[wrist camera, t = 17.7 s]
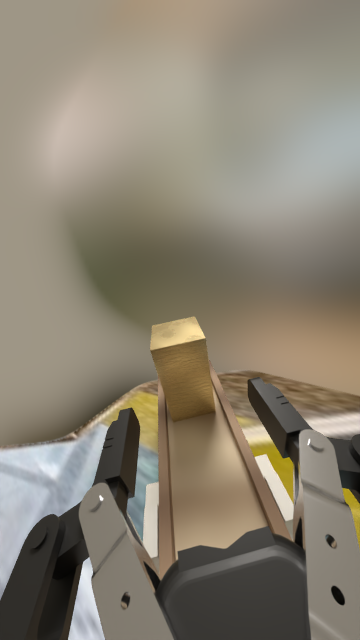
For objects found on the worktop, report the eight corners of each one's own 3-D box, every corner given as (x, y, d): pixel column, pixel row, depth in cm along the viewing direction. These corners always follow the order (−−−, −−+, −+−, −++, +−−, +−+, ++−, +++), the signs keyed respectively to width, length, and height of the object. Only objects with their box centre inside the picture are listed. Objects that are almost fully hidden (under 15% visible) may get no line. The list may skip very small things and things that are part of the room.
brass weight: (215, 412, 19) (205, 337, 15) (172, 422, 19) (150, 350, 15) (204, 380, 24) (194, 316, 19) (170, 388, 24) (152, 325, 19)
